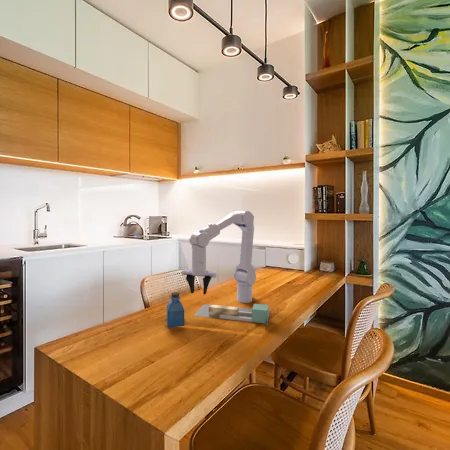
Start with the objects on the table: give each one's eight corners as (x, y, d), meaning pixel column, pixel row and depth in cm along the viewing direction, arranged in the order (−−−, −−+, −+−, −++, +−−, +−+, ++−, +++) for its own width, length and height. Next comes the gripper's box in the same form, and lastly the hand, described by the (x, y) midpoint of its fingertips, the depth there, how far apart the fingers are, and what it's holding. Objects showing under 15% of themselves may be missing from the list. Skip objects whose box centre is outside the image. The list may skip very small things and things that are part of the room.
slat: (208, 315, 119) (208, 306, 119) (210, 312, 122) (210, 304, 122) (237, 318, 116) (237, 309, 116) (238, 315, 119) (238, 307, 119)
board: (203, 306, 132) (203, 293, 132) (269, 313, 125) (270, 299, 125) (193, 317, 118) (193, 303, 118) (266, 326, 111) (267, 310, 111)
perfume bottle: (167, 327, 109) (167, 296, 108) (166, 321, 115) (166, 291, 114) (184, 325, 111) (184, 295, 110) (182, 319, 116) (182, 290, 116)
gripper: (179, 261, 118) (178, 294, 119) (213, 264, 114) (212, 297, 115) (185, 258, 125) (185, 289, 125) (217, 260, 121) (217, 292, 122)
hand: (198, 293), depth 121 cm, fingers open, 5 cm apart
